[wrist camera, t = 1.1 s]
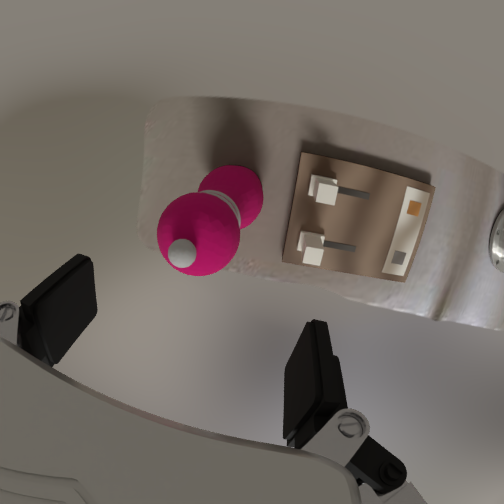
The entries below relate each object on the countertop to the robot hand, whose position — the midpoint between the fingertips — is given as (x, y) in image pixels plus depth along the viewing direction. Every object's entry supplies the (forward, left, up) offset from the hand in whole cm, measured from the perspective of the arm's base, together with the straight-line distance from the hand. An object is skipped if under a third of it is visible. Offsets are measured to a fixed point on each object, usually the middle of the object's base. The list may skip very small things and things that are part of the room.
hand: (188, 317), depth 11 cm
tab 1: (-8, -2, -24) cm, 25 cm away
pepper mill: (+2, 0, -25) cm, 26 cm away
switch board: (-14, +1, -25) cm, 29 cm away
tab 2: (-8, +5, -23) cm, 25 cm away
